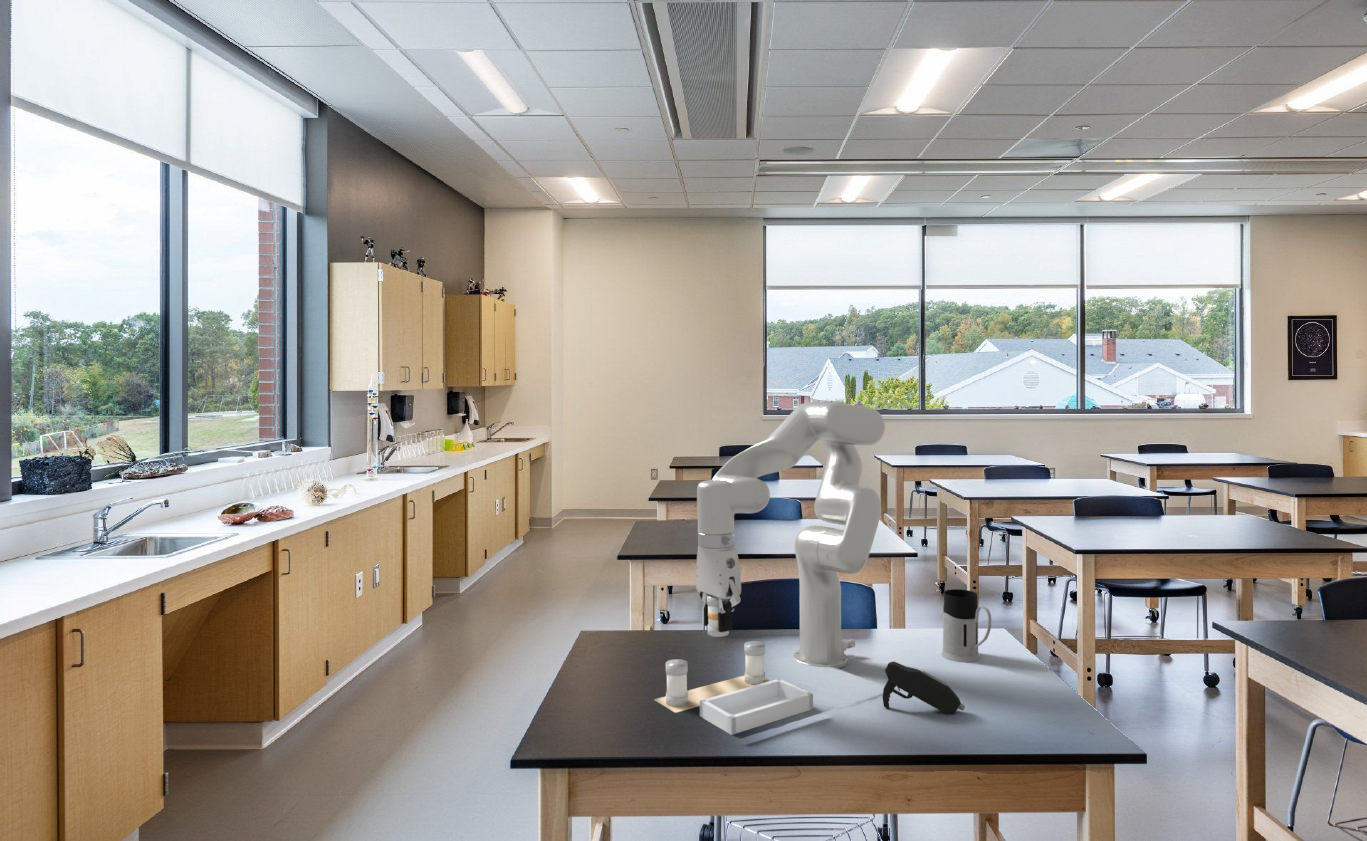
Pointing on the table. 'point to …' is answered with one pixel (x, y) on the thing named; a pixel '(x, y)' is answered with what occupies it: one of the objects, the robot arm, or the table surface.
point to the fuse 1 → (676, 683)
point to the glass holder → (961, 626)
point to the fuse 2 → (754, 662)
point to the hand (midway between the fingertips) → (718, 626)
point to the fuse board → (708, 692)
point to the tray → (755, 706)
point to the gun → (920, 688)
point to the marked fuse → (714, 616)
